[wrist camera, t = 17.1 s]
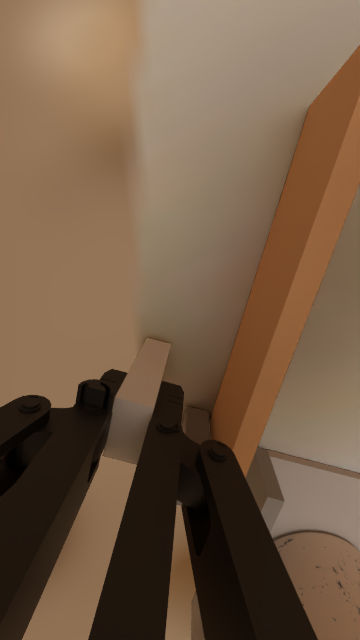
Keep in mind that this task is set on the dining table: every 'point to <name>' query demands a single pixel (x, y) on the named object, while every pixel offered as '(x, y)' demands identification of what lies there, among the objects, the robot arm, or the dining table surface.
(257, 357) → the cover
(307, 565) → the teacup with lid
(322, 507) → the grey tray
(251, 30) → the dining table surface
